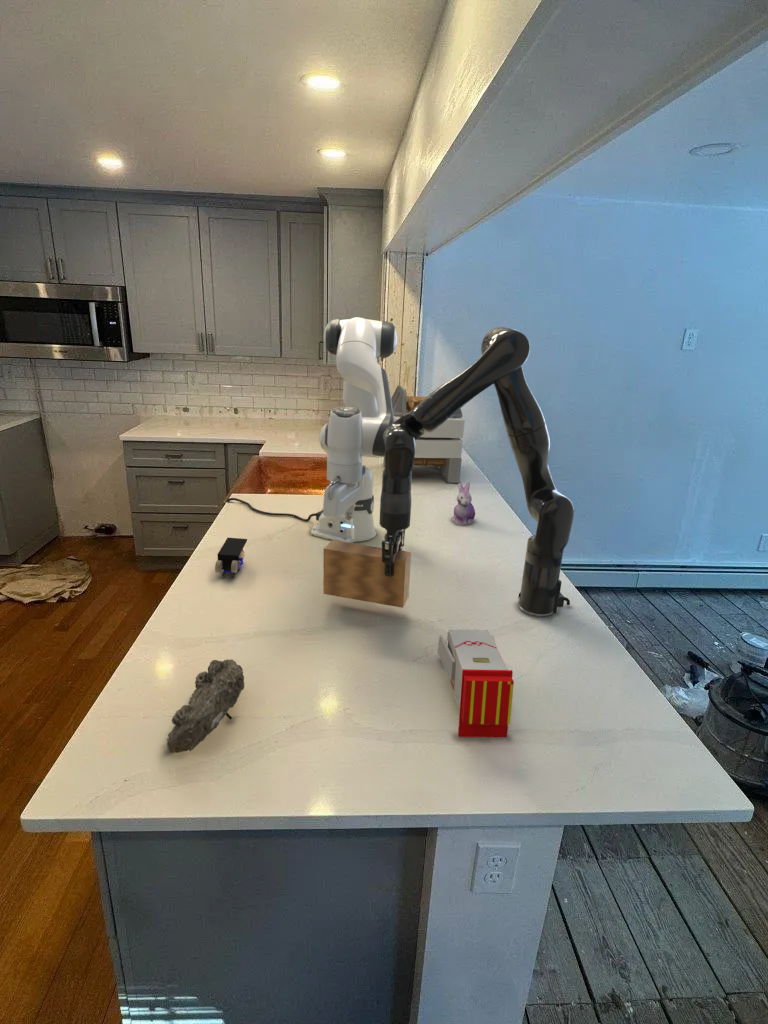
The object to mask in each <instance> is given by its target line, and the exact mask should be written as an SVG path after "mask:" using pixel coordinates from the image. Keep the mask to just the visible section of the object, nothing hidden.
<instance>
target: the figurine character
mask: <svg viewBox="0 0 768 1024" xmlns="http://www.w3.org/2000/svg"><path fill="white" fill-rule="evenodd" d="M247 542H248V538H240V537H226V539H225V541H224V543H223V544H222V546H221V547H220V549H219V551H218V552H217V560H216V562H215V564H214V572H215V573H221V577H222V578H224V577H225V576H226V574H227V573H230V574H231V573H232V574H231V578H234V577H235V575H236V573H237V572H239V571H240V567H242V566H243V565H244V564H245V562H244V558H245V551H244V547H245V546H246V544H247Z"/></svg>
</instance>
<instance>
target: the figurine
mask: <svg viewBox="0 0 768 1024" xmlns="http://www.w3.org/2000/svg"><path fill="white" fill-rule="evenodd" d="M457 485H458V494H457V496H456V501H457V504H456V505H455V506H454V508H453V516H452V521H453V522H454V523H455V524H456V525H460V526H466V525H471V524H472V523H473V522H474V521H475V516H476V510H475V507H474V505H473V503H472V500H473V498H472V495H471V493H470V488H471V482H470V481H468V482H467V483H466V484H465V486H463V484H462V483H461V482H459V483H457Z"/></svg>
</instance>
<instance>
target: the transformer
mask: <svg viewBox="0 0 768 1024" xmlns="http://www.w3.org/2000/svg"><path fill="white" fill-rule="evenodd" d="M407 394H408V393H407V390H406V389H404V388H403V387H402V385H399V384H398V385H397V386H396V388H395V390H394V392H393V394H392V395H391V401H392V408H393V415H394V421H396V420H397V419H399V418H400V417H402V416H403V415H405V414H406V413H408V412H410V411H411V410H413V409H414V408H415V407H416V406H417V405H418V404H419V403H420V402H422V401H423V400H424V399H425V398H426V397H427V396H415V395H414V396H413V395H412V396H411V395H407ZM464 429H465V419H464V418H463V411H462V407H461V408H460V409H459V410H458V411H457V412H455V413H454V414H453V415H452V416H451V417H450V418H449V419H447V420H446V421H445V422H444V423H443V424H441V425H440V426H439V427H438V428H437V429H435V430H434V431H432V432H430V433H425V434H423V435H422V436H421V437H420V438H418V439H417V440H416V441H415V456H414V462H413V467H415V466H416V467H417V466H418V467H436V468H437V470H438V469H439V473H440V474H441V475H443V478H444V479H445V481H446V482H447V483H449V484H455V483H456V484H459V483H461V472H462V461H463V460H462V453H463V442H464V441H463V440H462V439H463V438H464V431H465V430H464ZM383 466H384V467H385V457H383Z"/></svg>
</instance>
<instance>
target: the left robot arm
mask: <svg viewBox="0 0 768 1024" xmlns="http://www.w3.org/2000/svg"><path fill="white" fill-rule="evenodd" d="M323 343H324V345H325V349H326V350H327V352H329V354H331V355H333V356H336V358H335V359H336V360H335V362H336V363H335V364H336V370H337V373H338V374H339V376H340V377H341V378H342V380H343V382H342V383H343V385H342V403H343V404H344V405H340V406H336V407H334V408H331V410H330V413H329V417H328V423H325V424H324V425H323V426H322V427H321V429H320V432H319V435H318V441H319V445H320V447H321V449H322V450H323V452H325V453H326V454H327V458H326V480H327V481H329V484H328V485H327V486H326V487H325V489H324V493H323V504H322V510H320V511H317V512H315V513H314V512H313V513H311V514H309V515H308V517H307V518H302V517H300V516H299V515H296V514H294V513H285V512H283V513H281V512H279V513H278V512H269V511H263V510H260V509H258V508H255V507H253V506H252V505H251V504H250V503H249V502H247V501H245V500H243V499H239V498H237V497H230V498H228V499H226V500H225V502H226V503H229V502H230V501H236V502H238V503H242V504H244V505H246V506H247V507H248V508H249V509H250V510H252V511H253V512H256V513H258V514H262V515H268V516H277V517H279V516H282V517H293V518H295V519H297V520H300V521H301V522H305V523H307V522H310V520H311V518H312V517H315V521H316V522H317V523H315V524H314V525H313V526H312V528H311V530H310V533H311V536H315V537H319V538H323V539H326V540H330V541H332V540H333V541H340V542H347V543H357V542H365V541H368V540H372V539H373V538H375V537H376V535H377V532H376V528H375V523H374V513H373V512H374V509H375V496H374V474H373V472H372V471H371V469H369V468H368V467H367V466H366V465H364V464H363V458H376V459H377V458H378V459H379V458H384V457H385V446H384V444H383V434H384V432H385V430H386V429H387V428H388V427H389V426H390V425H391V424H392V423H393V422H395V421H394V415H393V408H392V401H391V398H392V394H391V388H390V382H389V377H388V374H387V371H386V369H385V368H384V367H381V365H380V364H379V363H378V358H380V362H383V361H384V359H387V358H389V357H390V356H392V355H393V353H394V352H395V350H396V347H397V345H398V334H397V330H396V326H395V325H394V324H393V323H392V322H390V321H387V320H382V321H381V320H376V319H370V318H369V319H368V318H364V317H360V316H359V317H358V316H357V317H352V318H349V319H347V318H346V319H341V318H336V319H332V320H330V321H329V322H327V324H326V326H325V329H324V331H323Z"/></svg>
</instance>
